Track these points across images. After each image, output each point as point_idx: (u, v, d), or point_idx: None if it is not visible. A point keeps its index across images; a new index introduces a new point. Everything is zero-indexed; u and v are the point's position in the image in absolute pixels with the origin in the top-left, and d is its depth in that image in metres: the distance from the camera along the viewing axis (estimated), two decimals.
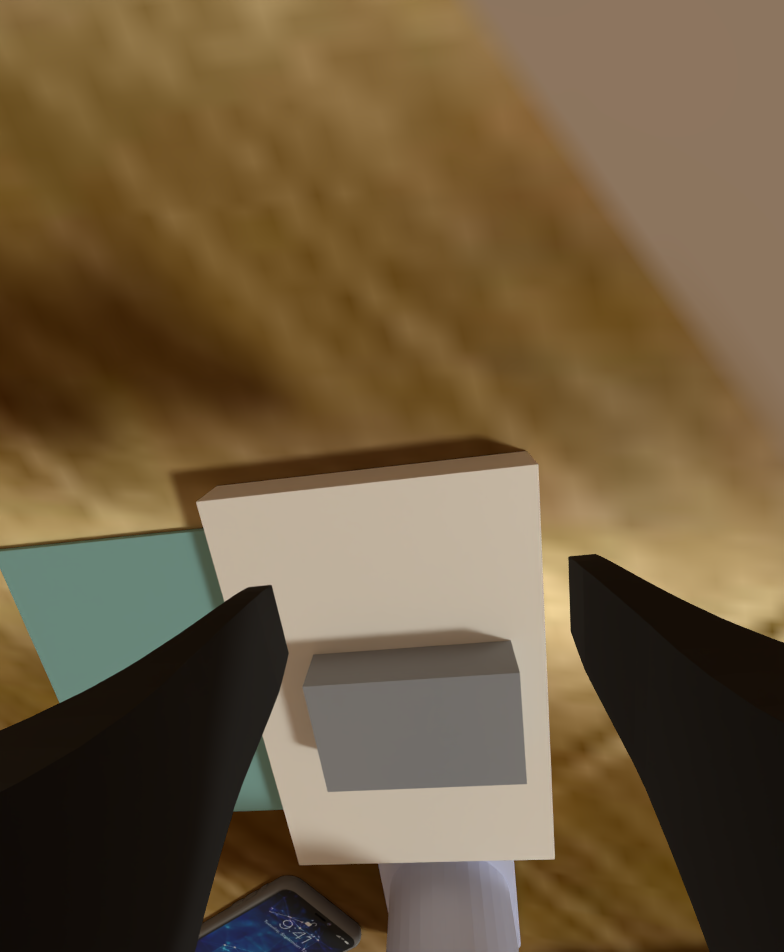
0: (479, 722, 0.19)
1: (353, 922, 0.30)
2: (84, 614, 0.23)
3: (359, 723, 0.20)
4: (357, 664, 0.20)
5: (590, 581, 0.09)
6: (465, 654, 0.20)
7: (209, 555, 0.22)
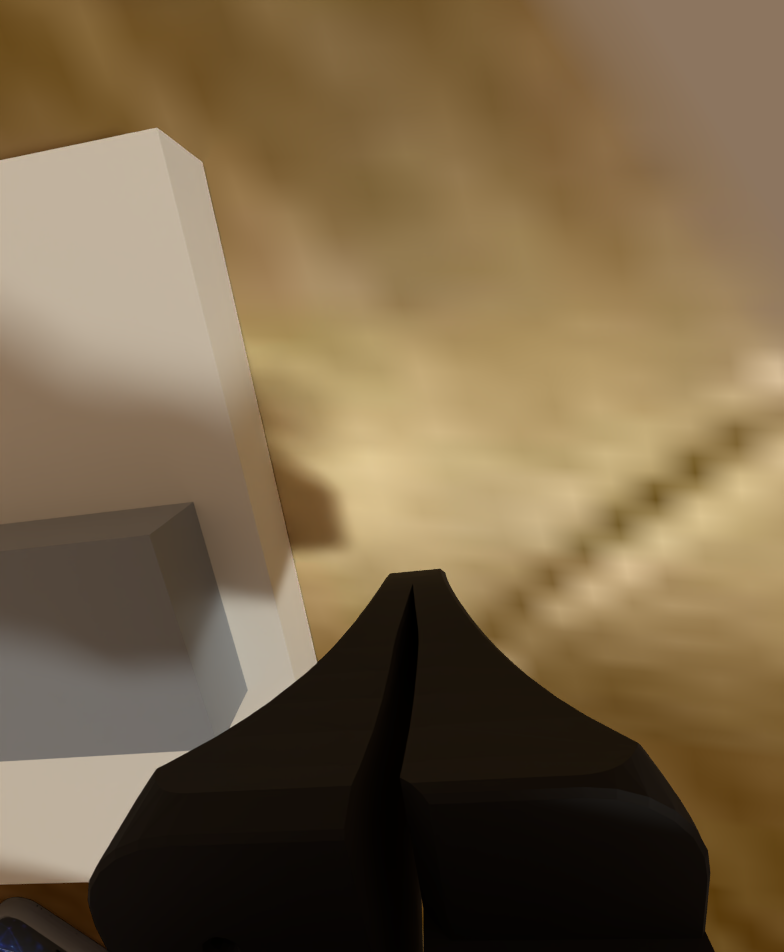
0: (109, 635, 0.11)
1: None
2: None
3: None
4: None
5: None
6: (101, 521, 0.11)
7: None
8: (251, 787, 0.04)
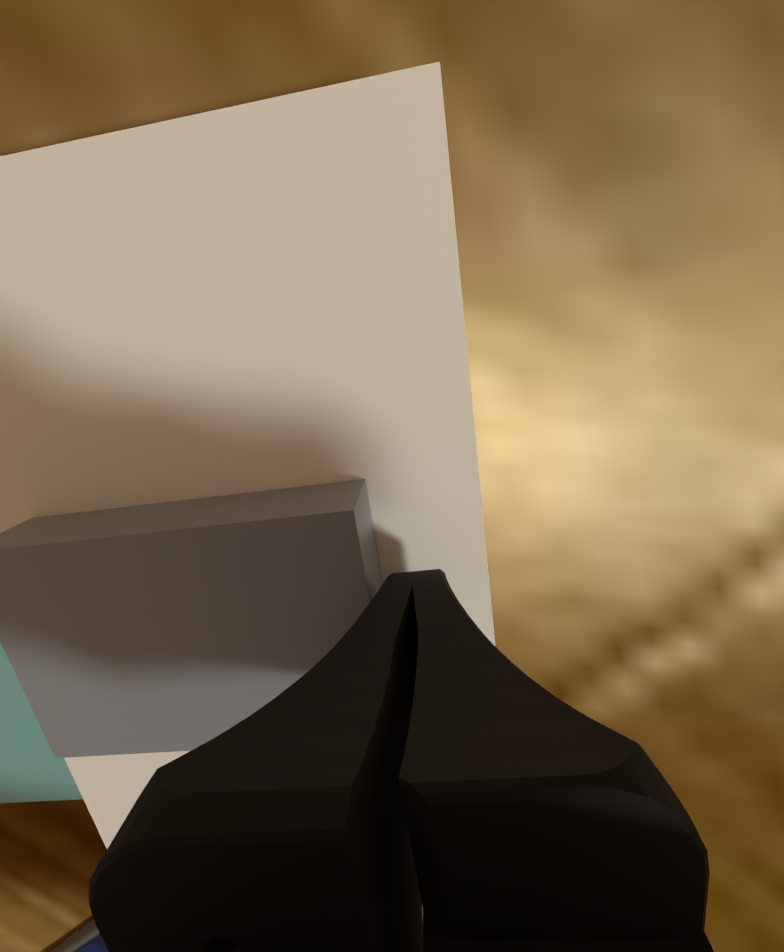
0: (293, 619, 0.10)
1: None
2: None
3: (78, 626, 0.11)
4: (84, 522, 0.11)
5: (414, 597, 0.09)
6: (275, 498, 0.11)
7: None
8: (252, 786, 0.04)
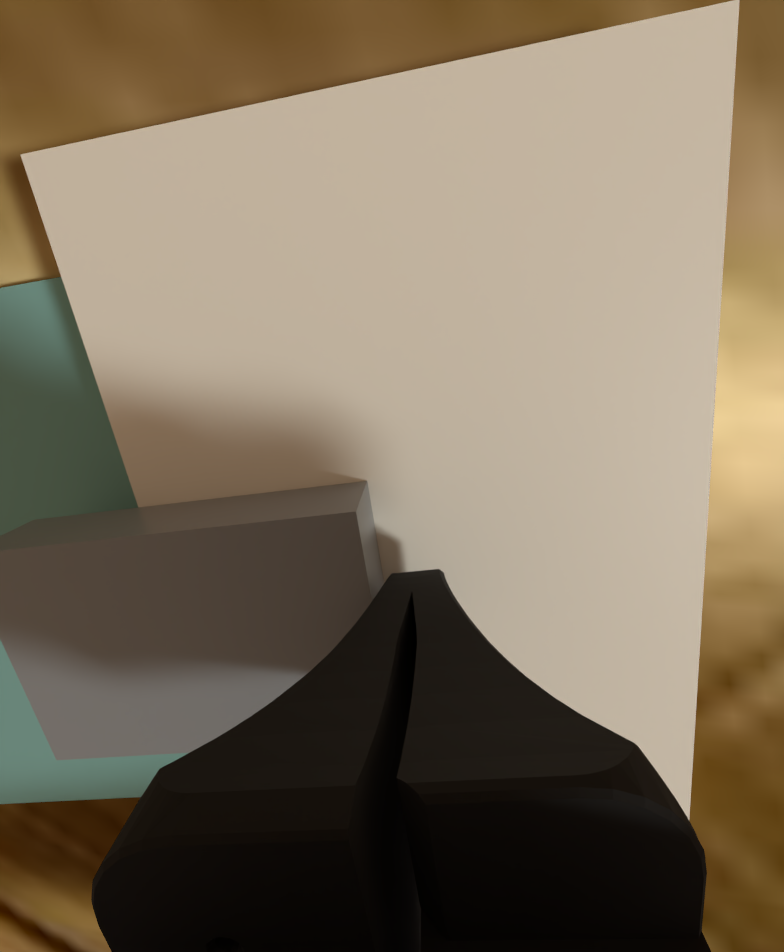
0: (295, 620, 0.10)
1: None
2: None
3: (80, 628, 0.11)
4: (87, 524, 0.11)
5: (413, 597, 0.09)
6: (277, 500, 0.11)
7: None
8: (254, 788, 0.04)
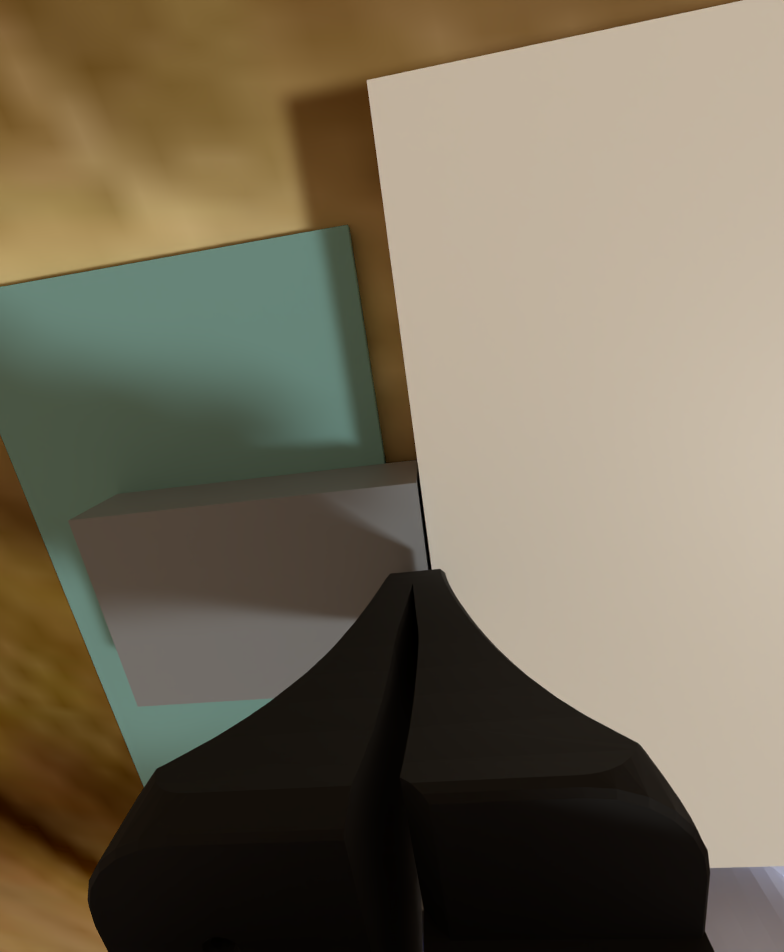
0: (358, 579, 0.12)
1: None
2: (112, 423, 0.13)
3: (168, 585, 0.12)
4: (171, 496, 0.13)
5: None
6: (340, 475, 0.12)
7: (353, 282, 0.11)
8: (249, 788, 0.04)
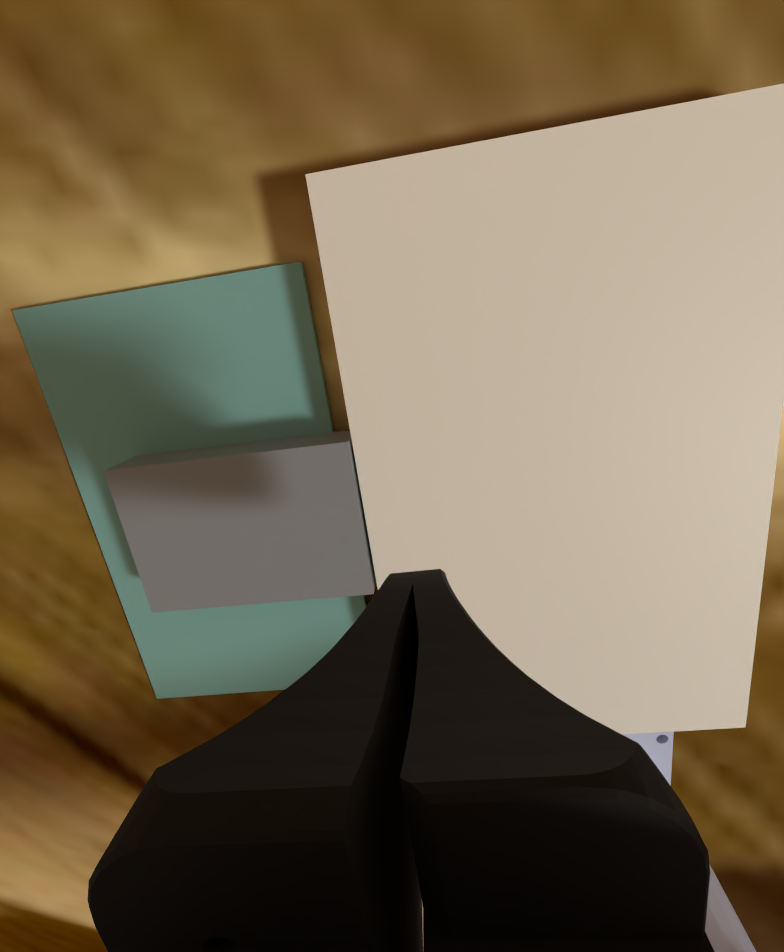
0: (310, 512, 0.16)
1: None
2: (132, 402, 0.18)
3: (175, 518, 0.17)
4: (177, 455, 0.17)
5: None
6: (299, 439, 0.17)
7: (305, 301, 0.16)
8: (251, 787, 0.04)
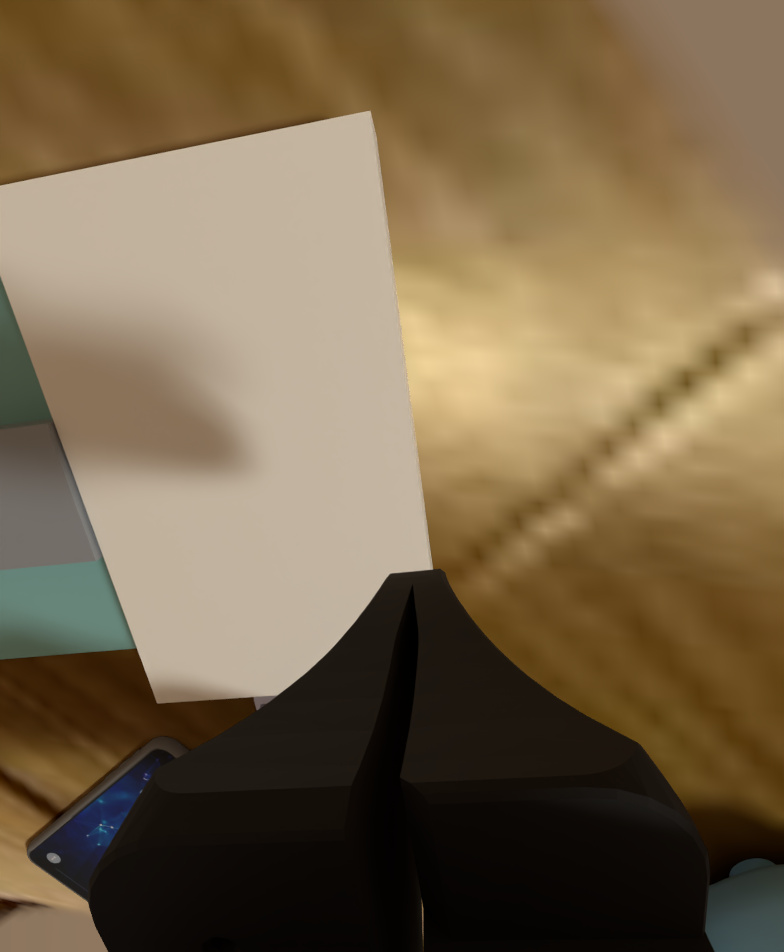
0: (27, 487, 0.19)
1: None
2: None
3: None
4: None
5: None
6: (25, 423, 0.19)
7: None
8: (251, 787, 0.04)
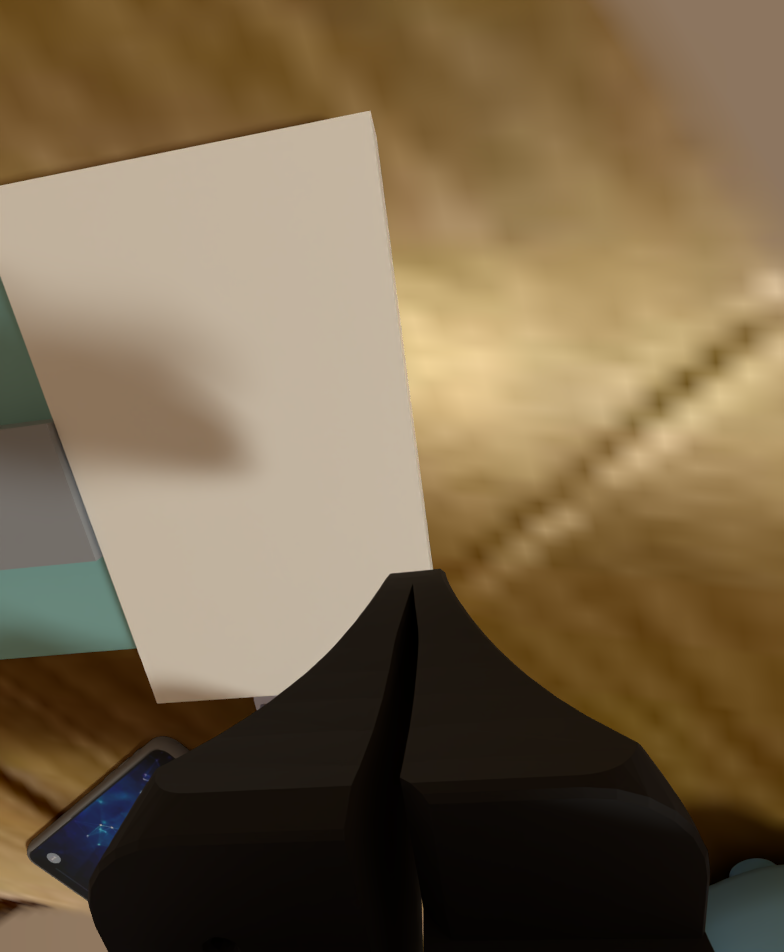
0: (27, 487, 0.19)
1: None
2: None
3: None
4: None
5: None
6: (25, 423, 0.19)
7: None
8: (251, 787, 0.04)
